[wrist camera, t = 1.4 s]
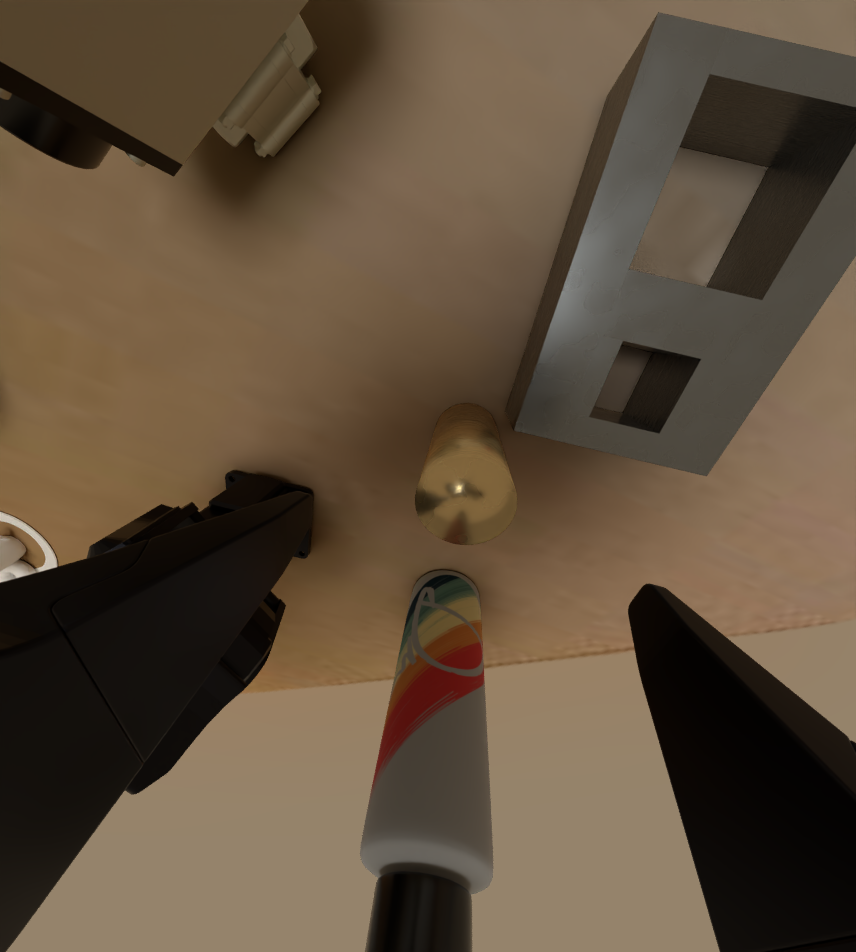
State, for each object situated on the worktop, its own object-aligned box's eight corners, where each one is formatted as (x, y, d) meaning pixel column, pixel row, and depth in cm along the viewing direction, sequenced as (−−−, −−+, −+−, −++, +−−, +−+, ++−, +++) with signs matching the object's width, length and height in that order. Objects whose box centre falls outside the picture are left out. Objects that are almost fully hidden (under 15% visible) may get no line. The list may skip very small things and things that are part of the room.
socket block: (662, 448, 20) (706, 476, 16) (505, 411, 20) (513, 430, 16) (837, 148, 13) (972, 83, 10) (607, 95, 14) (658, 11, 10)
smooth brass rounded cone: (486, 468, 21) (499, 554, 13) (429, 454, 22) (407, 532, 13) (505, 411, 20) (532, 470, 12) (442, 396, 20) (426, 445, 12)
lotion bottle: (453, 557, 25) (419, 1151, 7) (493, 602, 27) (550, 1183, 9) (398, 586, 27) (263, 1109, 9) (439, 626, 28) (393, 1142, 10)
